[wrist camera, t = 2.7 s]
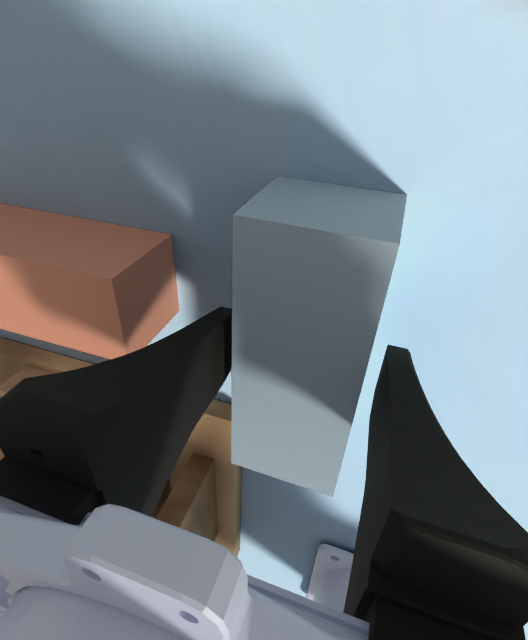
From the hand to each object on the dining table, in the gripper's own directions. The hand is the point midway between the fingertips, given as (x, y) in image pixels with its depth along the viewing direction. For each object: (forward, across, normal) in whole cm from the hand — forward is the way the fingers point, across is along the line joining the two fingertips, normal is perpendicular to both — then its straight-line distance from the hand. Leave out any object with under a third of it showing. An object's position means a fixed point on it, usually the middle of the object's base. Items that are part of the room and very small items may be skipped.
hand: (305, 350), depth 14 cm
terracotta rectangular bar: (+2, +14, 0) cm, 14 cm away
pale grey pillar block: (+2, 0, 0) cm, 2 cm away
